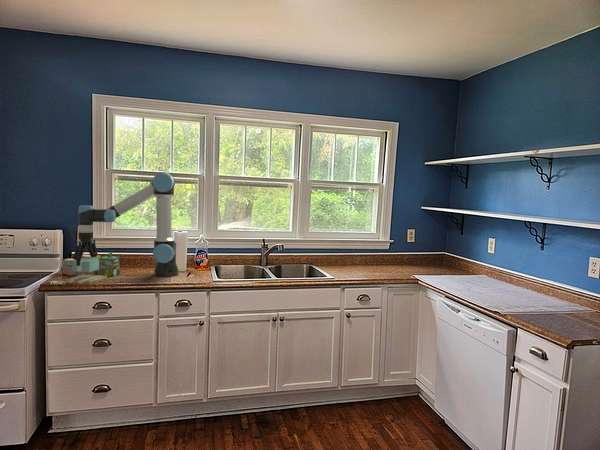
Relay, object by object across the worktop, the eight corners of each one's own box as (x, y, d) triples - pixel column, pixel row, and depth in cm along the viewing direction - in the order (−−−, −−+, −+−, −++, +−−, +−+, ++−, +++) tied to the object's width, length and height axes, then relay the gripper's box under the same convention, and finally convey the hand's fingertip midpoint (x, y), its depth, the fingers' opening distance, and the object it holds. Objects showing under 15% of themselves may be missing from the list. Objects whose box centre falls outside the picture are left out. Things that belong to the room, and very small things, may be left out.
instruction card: (69, 282, 230) (69, 281, 230) (60, 284, 223) (60, 284, 223) (53, 281, 231) (53, 280, 231) (44, 283, 224) (44, 283, 224)
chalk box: (105, 273, 255) (105, 250, 254) (120, 274, 255) (119, 251, 254) (98, 276, 246) (97, 252, 245) (112, 277, 246) (112, 253, 245)
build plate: (107, 278, 242) (107, 275, 242) (89, 283, 226) (89, 281, 226) (83, 276, 244) (83, 274, 244) (64, 282, 228) (64, 279, 228)
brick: (98, 269, 240) (98, 259, 239) (89, 272, 230) (89, 261, 229) (82, 268, 240) (82, 258, 239) (72, 271, 230) (72, 261, 229)
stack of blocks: (62, 274, 250) (62, 255, 249) (69, 272, 256) (68, 253, 255) (94, 276, 248) (94, 256, 247) (100, 274, 254) (100, 255, 253)
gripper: (92, 230, 245) (92, 265, 247) (65, 233, 222) (66, 272, 224) (104, 230, 244) (104, 266, 246) (78, 234, 221) (78, 273, 223)
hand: (86, 269), depth 235 cm, fingers closed on brick, 10 cm apart
